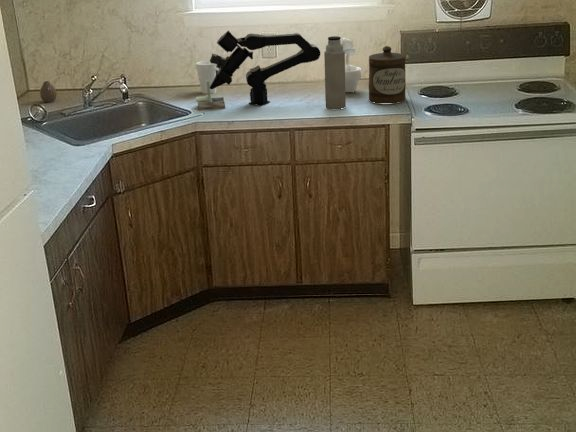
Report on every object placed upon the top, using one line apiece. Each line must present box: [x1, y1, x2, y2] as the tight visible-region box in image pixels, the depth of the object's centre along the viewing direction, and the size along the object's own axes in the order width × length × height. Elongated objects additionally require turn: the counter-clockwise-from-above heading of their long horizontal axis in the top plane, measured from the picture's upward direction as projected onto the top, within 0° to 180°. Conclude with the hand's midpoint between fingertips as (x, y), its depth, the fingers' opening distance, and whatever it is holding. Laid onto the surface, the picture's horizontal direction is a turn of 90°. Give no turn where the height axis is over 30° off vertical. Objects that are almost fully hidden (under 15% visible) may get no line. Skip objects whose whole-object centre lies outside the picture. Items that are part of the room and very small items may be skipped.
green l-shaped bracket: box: [195, 80, 212, 103], centre depth 329 cm, size 6×6×8 cm
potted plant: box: [337, 35, 362, 93], centre depth 341 cm, size 13×12×25 cm
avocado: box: [39, 80, 58, 104], centre depth 351 cm, size 7×7×9 cm
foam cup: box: [195, 60, 218, 95], centre depth 354 cm, size 10×9×13 cm
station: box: [197, 96, 226, 111], centre depth 331 cm, size 11×8×3 cm
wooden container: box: [368, 45, 407, 104], centre depth 325 cm, size 15×15×22 cm
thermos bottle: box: [323, 35, 347, 110], centre depth 317 cm, size 8×8×28 cm
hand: (210, 88), depth 329 cm, fingers closed, pressing on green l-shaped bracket
